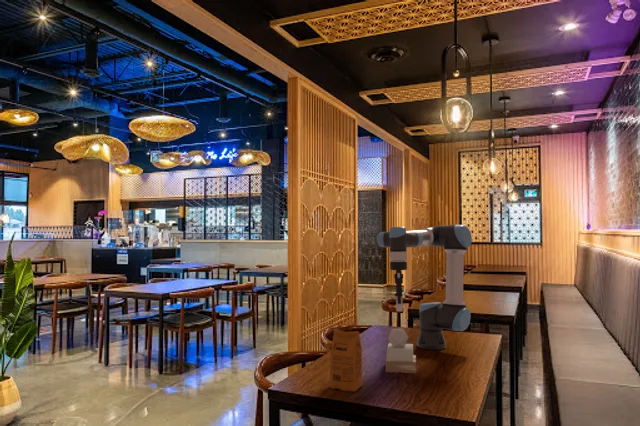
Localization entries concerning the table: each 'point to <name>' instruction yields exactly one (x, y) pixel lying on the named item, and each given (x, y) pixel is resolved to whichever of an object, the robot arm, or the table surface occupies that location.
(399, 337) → the die
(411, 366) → the bottom slab
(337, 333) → the coffee package
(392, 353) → the top slab
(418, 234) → the robot arm
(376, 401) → the table surface
